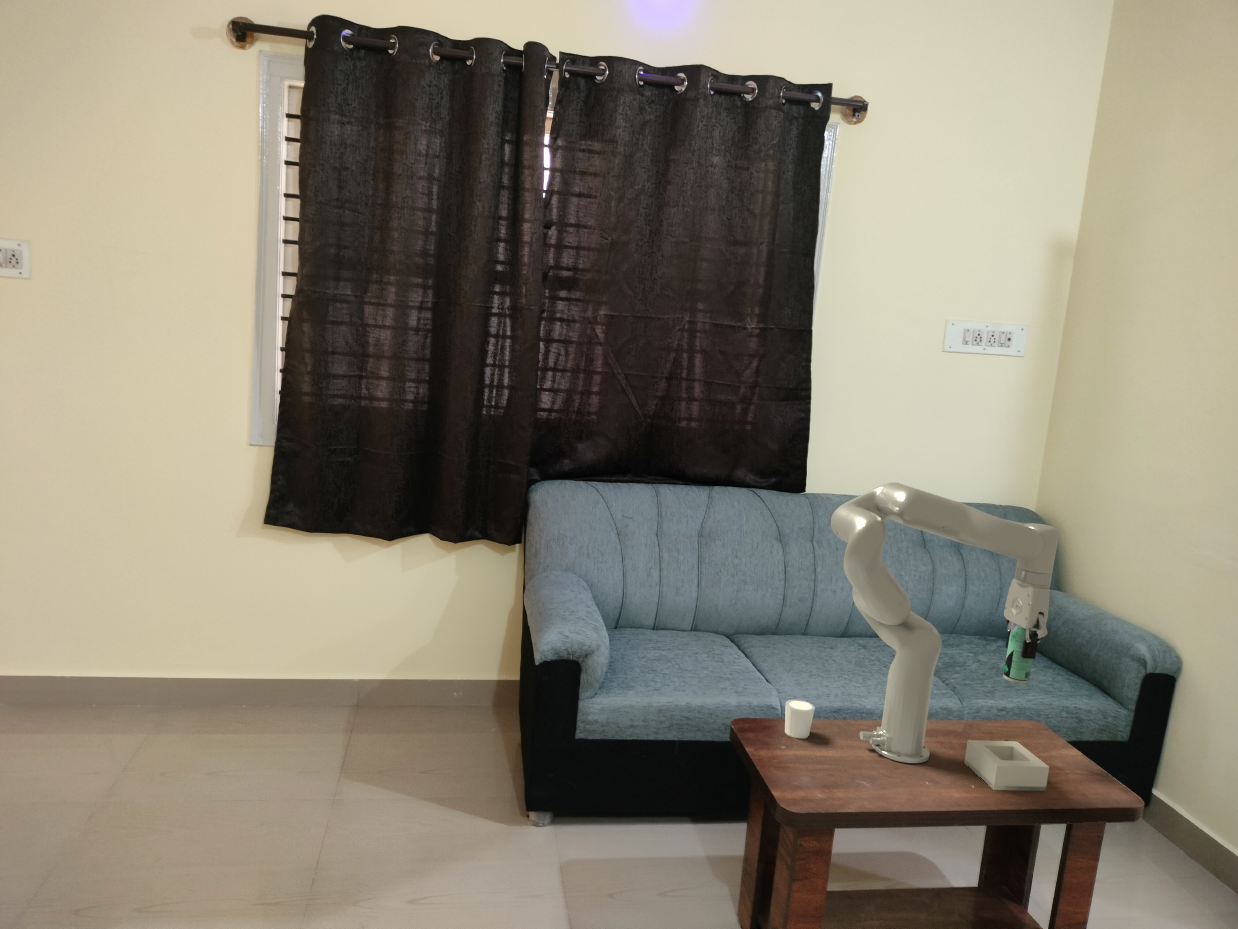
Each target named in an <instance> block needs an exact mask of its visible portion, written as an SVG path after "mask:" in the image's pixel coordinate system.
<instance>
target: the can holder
mask: <svg viewBox="0 0 1238 929" xmlns="http://www.w3.org/2000/svg"><path fill="white" fill-rule="evenodd" d="M966 741H967V742H966V749H965V753H964V761H963V762H964V763H963V764H965V765H966V766H967V767H968V766H969V767H970V768H971V769H972V770H973V771H974V772H975V773H974V772H973V771H972V770H971V769H970V768H969V767H968V768H969V769H970V770H971V771H972V772H973V773H974V774H975V775H976V776H977V777H979V778H980V777H981V778H982V779H983V780H984V781H985V782H986V783H987V784H988V785H987V784H986V783H985V782H984V781H983V780H982V779H981V778H980V779H981V780H982V781H983V782H984V783H985V784H986V785H987V786H988V787H989V788H991V789H992V790H993V791H1021V792H1022V791H1024V792H1036V791H1037V792H1046V791H1047V790H1046V789H1047V785H1048V776H1049V770H1050V766H1049V765H1047V763H1045V762H1043V761H1042V760H1041V759H1040V758H1038V757H1037V756H1036V755H1035V754H1034V753H1032V751H1030V750H1028V749H1027V748H1026V747H1025V746H1023V745H1022V744H1021V743H1019V742H1018V741H1016V740H1015V741H1014V740H1013V741H1011V740H1006V741H1005V740H1003V741H1002V740H977V739H974V740H973V739H967V740H966Z"/></svg>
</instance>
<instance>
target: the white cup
mask: <svg viewBox="0 0 1238 929" xmlns="http://www.w3.org/2000/svg"><path fill="white" fill-rule="evenodd" d="M784 709H785V714H784V715H785V716H784V718H785V719H784V733H785V734H786V735H787V736H789V737H792V738H795V739H807V738H809V737H810V733H811V727H812V722H813V719H814V714H815V709H816V707H815V705H814V704H812V703H810V702H809V701H806V700H802V699H788V700H786V701H785V708H784ZM808 736H809V737H808Z"/></svg>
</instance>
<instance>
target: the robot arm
mask: <svg viewBox="0 0 1238 929" xmlns="http://www.w3.org/2000/svg"><path fill="white" fill-rule="evenodd" d="M889 520H891V521H893V522H896V523H898V524H900V525H902V526H906V527H909V528H913V529H916V530H919V531H923V532H926V533H929V534H933V535H935V536H938V537H942V538H945V539H949V540H951V541H954V542H957V543H961V544H964V545H969V546H972V547H977V548H980V549H983V550H987V551H990V552H993V553H995V554H999V555H1003V556H1006V557H1008V558H1012V559H1014V560H1015V559H1016V560H1017V561H1016V564H1015V565H1016V566H1015V573H1014V577H1013V579H1012V581H1011V584H1010V586H1009V589H1008V592H1007V597H1006V601H1005V606H1004V610H1003V616H1004V618H1005V620H1006V623H1007V627H1006V629H1007V634H1006V635H1007V636H1006V642H1005V648H1006V649H1007V650H1008V644H1009V638H1010V632H1011V626H1012V622H1013V623H1015V624H1017V625H1018V626H1020V627H1022V628H1024V629H1026V641H1024V642H1023V648H1022V654H1021V657H1022V658H1027V659H1033V660H1035V659H1036V655H1037V651H1038V650H1037V649H1038V644H1039V643H1041V641H1042V639H1043V638H1045V637H1046V636H1047V635H1048V633H1049V632H1048V629H1047V622H1048V617H1049V611H1050V610H1049V609H1050V596H1051V594H1050V590H1051V589H1050V587H1051V582H1052V577H1053V569H1054V565H1055V559H1056V553H1057V547H1058V541H1059V536H1060V535H1059V534H1060V533H1059V529H1057V528H1056V527H1054V526H1052V525H1048V524H1043V523H1037V522H1035V523H1034V522H1029V523H1028V522H1027V523H1024V522H1020V521H1019V522H1018V521H1014V520H1009V519H1007V518H1006V519H1005V518H1001V517H998V516H996V515H992V514H990V513H987V512H985V511H982V510H980V509H977V507H976V508H975V507H973V506H971V505H968V504H965V503H962V502H960V501H957V500H953V499H950V498H947V497H943V496H940V495H937V494H934V493H931V492H927V491H925V490H921V489H918V488H915V487H911V486H909V485H905V484H903V483H900V482H889V483H886V484H882V485H879V486H877V487H876V488H873V489H871V490H869V491H867V492H865V493H863V494H861V495H858V496H856V497H854V498H852V499H851V500H848V501H847V502H845V503H842V504H841V505H840V506H838V507H837V508H836V509H835V510H834V512H833V513H832V515H831V518H830V528H831V530H832V532H833V533H834V535H835V536H836V537H837V538H838V539H840V540H842V541H843V542H845V543H847V544H846V547H845V551H844V554H843V555H844V556H843V563H842V564H843V572H844V573H845V574H844V575H845V576H846V579H847V581H849V583H850V584H851V586H852V590H851V596H852V600H853V603H854V606H855V607H856V608H857V610H858V612H859V613H860V614H861V615H862V616H863V618H864V619H865V620H866V622H867V623H868V624H869V625H870V627H871V629H872V630H873V631H874V632H875V633H876V634H877V636H878V637H879V638H880V639H881V640H882V641H883V643H885V644H886V645H888V646H889V647H890V648H892V649H893V650H894V651H895V656H894V658H893V660H892V661H891V664H890V665H889V666H890V667H889V670H888V674H887V679H886V681H887V682H886V690H885V697H884V704H883V705H884V706H883V712H882V720H881V726H876V730H873V731H865V730H864V731H863V730H862V731H860V732H859V738H860V740H862V741H869V743H870V745H871V746H872V748H873V750H874V751H875V752H877V753H878V754H879V755H881V756H883V757H885V758H887V759H890V760H892V761H896V762H901V763H904V764H906V763H907V764H921V763H924V762H927V761H928V760H929V758H930V750H929V749H928V747H927V746H925V745H924V743H925V735H926V729H927V724H928V723H927V721H928V714H929V708H930V707H929V706H930V701H931V700H930V699H931V691H932V684H933V681H934V680H933V678H934V673H935V669H936V666H937V662H938V659H939V657H940V653H941V651H942V645H943V644H942V642H943V641H942V638H941V634H940V632H939V631H938V629H937V628H936V627H935V626H934V625H933V624H932V623H931V622H930V621H928V620H926V619H925V618H923V617H922V616H920V615H918V614H916V613H914V612H913V611H912V604H911V600H910V597H909V595H908V594H907V592H906V590H904V588H903V587H902V586H901V585H900V584H899V582H898V581H897V580H896V578H895V577H894V576H893V575H892V573H891V572H890V570H889V569H888V568H887V566H886V565H885V563H884V561H883V556H882V554H883V550H884V547H885V544H886V541H887V535H888V531H887V530H888V528H887V525H886V522H887V521H889ZM1033 626H1036V628H1032V627H1033ZM1031 631H1035V633H1033V634H1032V635H1031Z"/></svg>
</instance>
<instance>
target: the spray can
mask: <svg viewBox="0 0 1238 929" xmlns="http://www.w3.org/2000/svg"><path fill="white" fill-rule="evenodd" d="M1032 628H1036V626H1033V627H1032ZM1033 633H1035V631H1031V635H1032V634H1033ZM1024 641H1026V629H1024V628H1022V627H1020V626H1018V625H1017V624H1015V623H1013V622H1012V626H1011V632H1010V638H1009V644H1008V649H1007V651H1006V655H1005V656H1006V657H1005V663H1004V668H1003V673H1002V674H1003V675H1002V678H1003V679H1004V680H1006V681H1008V682H1011V683H1015V684H1021V685H1027V684H1029V682H1030V676H1031V671H1032V665H1033V660H1034V659H1027V658H1022V657H1021V654H1022V648H1023V642H1024Z"/></svg>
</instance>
